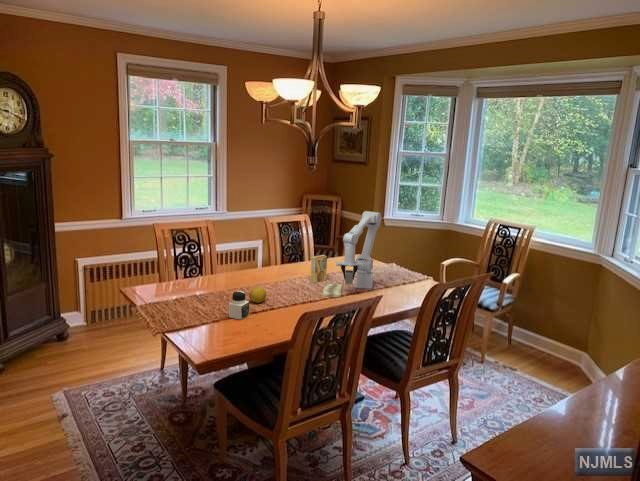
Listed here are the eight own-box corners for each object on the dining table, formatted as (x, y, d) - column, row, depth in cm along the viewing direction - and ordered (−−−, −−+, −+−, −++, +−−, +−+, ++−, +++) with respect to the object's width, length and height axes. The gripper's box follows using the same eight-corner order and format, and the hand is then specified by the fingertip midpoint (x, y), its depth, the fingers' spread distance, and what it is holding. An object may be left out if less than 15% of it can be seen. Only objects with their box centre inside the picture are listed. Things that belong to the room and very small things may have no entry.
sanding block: (352, 280, 271) (352, 270, 269) (352, 284, 264) (352, 274, 263) (345, 280, 271) (345, 270, 270) (345, 284, 264) (345, 273, 263)
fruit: (259, 306, 246) (259, 291, 245) (246, 303, 250) (246, 288, 248) (269, 301, 254) (269, 286, 252) (256, 298, 258) (256, 283, 256)
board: (341, 286, 281) (341, 284, 281) (341, 297, 263) (341, 295, 262) (324, 285, 282) (324, 283, 282) (322, 296, 263) (322, 294, 263)
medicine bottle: (241, 320, 227) (241, 295, 225) (228, 317, 230) (228, 293, 227) (249, 315, 234) (249, 291, 231) (236, 312, 236) (236, 289, 234)
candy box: (322, 278, 295) (322, 254, 291) (326, 280, 292) (327, 255, 288) (310, 281, 289) (311, 256, 286) (315, 283, 286) (315, 258, 283)
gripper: (336, 256, 261) (335, 280, 264) (363, 257, 260) (362, 281, 263) (336, 253, 268) (335, 276, 271) (363, 254, 267) (361, 277, 270)
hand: (348, 279), depth 267 cm, fingers closed on sanding block, 4 cm apart
